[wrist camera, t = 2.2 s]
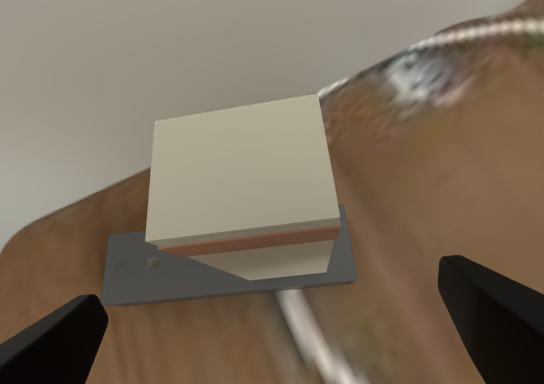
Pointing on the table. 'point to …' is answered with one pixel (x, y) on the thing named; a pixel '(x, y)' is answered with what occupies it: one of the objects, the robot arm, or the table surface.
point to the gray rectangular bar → (200, 273)
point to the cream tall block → (245, 189)
